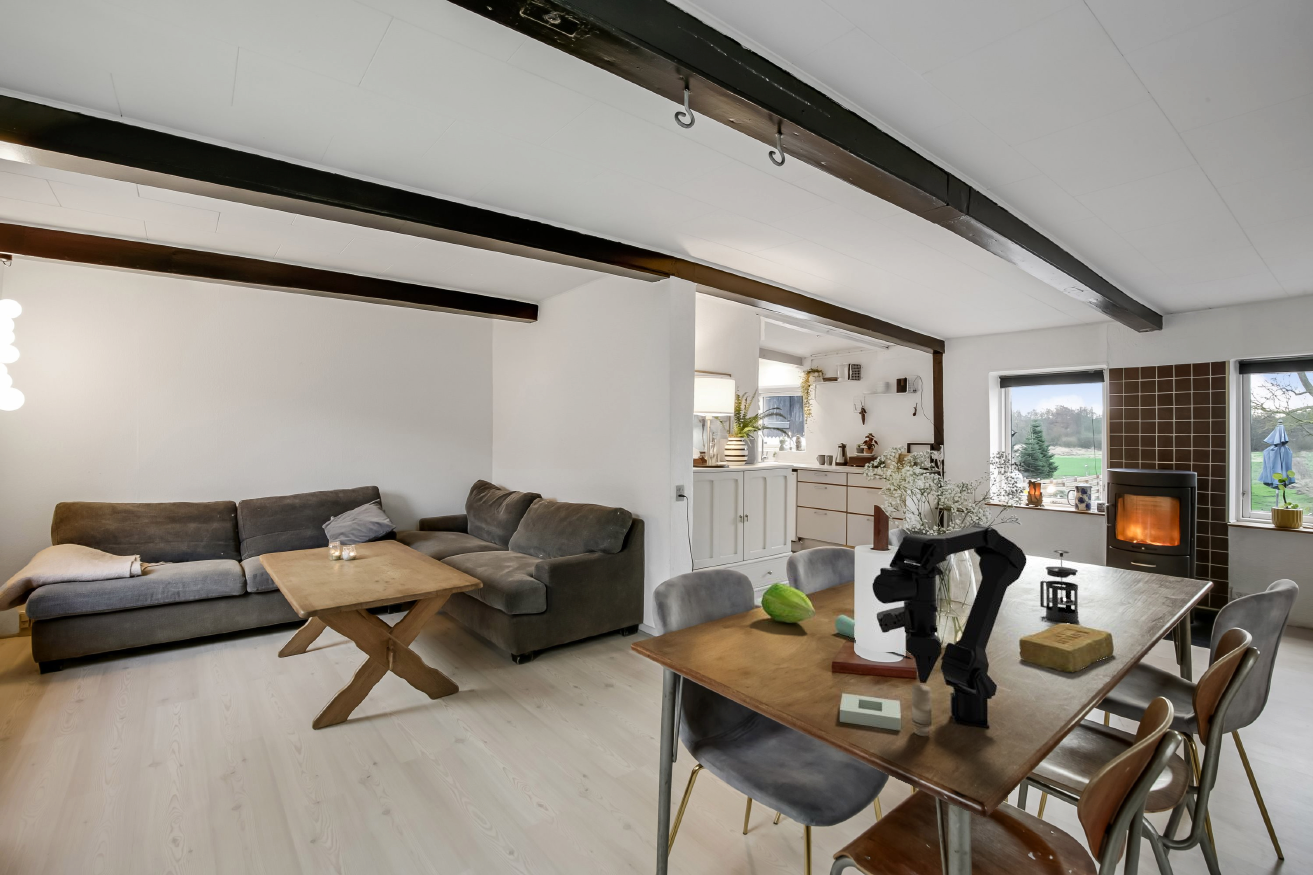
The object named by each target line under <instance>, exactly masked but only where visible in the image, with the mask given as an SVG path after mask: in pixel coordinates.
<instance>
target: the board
mask: <svg viewBox="0 0 1313 875" xmlns="http://www.w3.org/2000/svg"><path fill="white" fill-rule="evenodd" d="M841 694H842V695H841V700H840V706H839V707H840V708H839V722H840V723H848V724H853V725H861V726H868V727H874V728H881V729H888V730H895V731H900V732H901V731H902V729H901V727H902V726H901V725H902V722H901V719H902V718H901V717H902V716H901V701H900V700H895V699H887V698H880V697H872V696H866V695H859V694H858V695H857V694H851V693H841Z"/></svg>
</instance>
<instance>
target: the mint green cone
mask: <svg viewBox="0 0 1313 875" xmlns="http://www.w3.org/2000/svg"><path fill="white" fill-rule="evenodd" d="M855 621H856V620H854V619H853V618H851V617H848V616H846V615H844V614H840V615H839V616H837V618H836V619H835V623H834V627H835V630H836V632H837V633H838V634H841V635H843V636H846V637H848V636H849V638H851V639H854V626H855Z"/></svg>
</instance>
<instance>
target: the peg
mask: <svg viewBox="0 0 1313 875" xmlns="http://www.w3.org/2000/svg"><path fill="white" fill-rule="evenodd" d="M911 701H912V702H911V707H912V708H911V712H912V713H911V721H912V724H914V726H913V728H914V730H913V731H914V732H913V733H915V734H916V735H918V736H920V737H928V736H929V735H930V727H931V726H932V722H933V721H932V688H931V687H930V686H926V685H923V684H915V685H912V686H911Z"/></svg>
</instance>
